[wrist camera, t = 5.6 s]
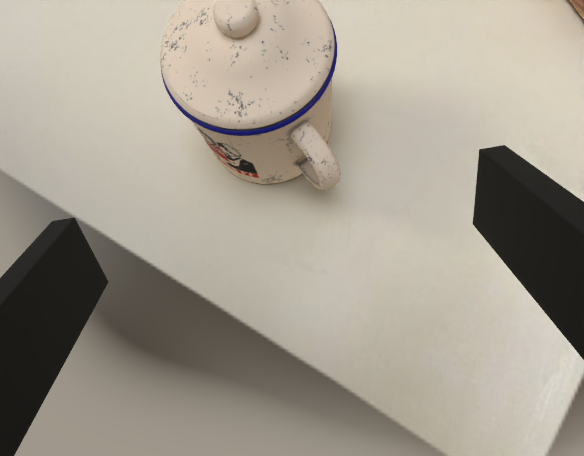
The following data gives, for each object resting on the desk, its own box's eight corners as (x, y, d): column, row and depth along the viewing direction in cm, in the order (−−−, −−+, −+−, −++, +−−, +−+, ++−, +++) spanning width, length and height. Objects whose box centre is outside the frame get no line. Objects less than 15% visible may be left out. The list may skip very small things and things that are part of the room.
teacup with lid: (184, 118, 29) (95, -6, 18) (285, 49, 30) (259, -113, 19) (278, 248, 27) (242, 197, 15) (386, 170, 27) (429, 65, 16)
